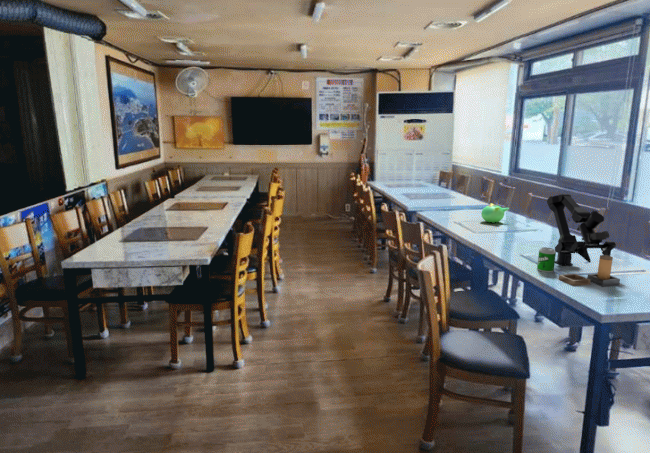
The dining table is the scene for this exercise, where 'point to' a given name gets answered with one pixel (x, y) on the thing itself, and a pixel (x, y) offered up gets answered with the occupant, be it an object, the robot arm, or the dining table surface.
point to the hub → (604, 281)
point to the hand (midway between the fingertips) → (599, 262)
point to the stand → (574, 279)
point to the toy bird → (493, 213)
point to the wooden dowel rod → (604, 267)
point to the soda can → (546, 259)
